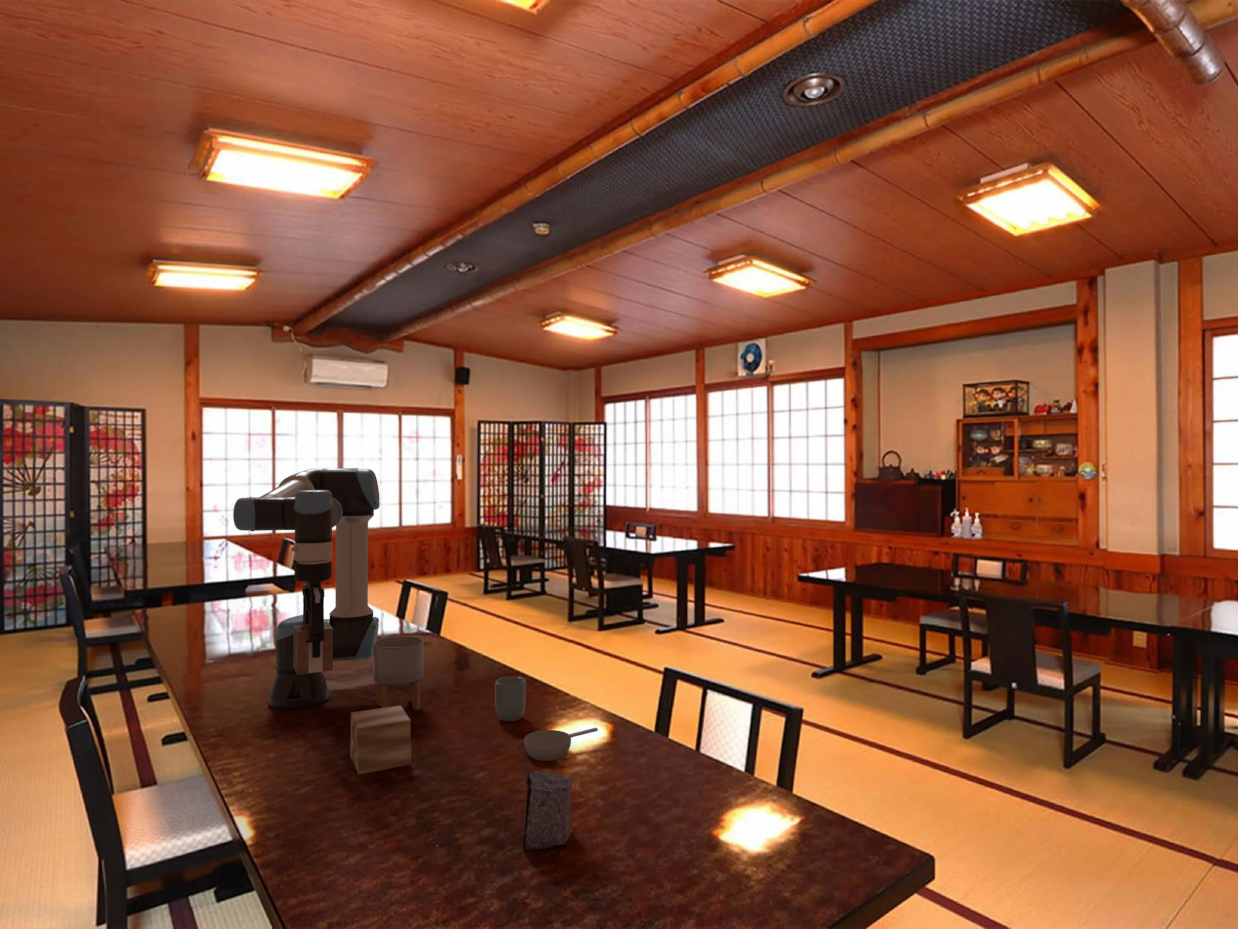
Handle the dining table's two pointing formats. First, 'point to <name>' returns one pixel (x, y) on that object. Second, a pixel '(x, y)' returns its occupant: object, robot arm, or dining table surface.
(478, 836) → the dining table surface
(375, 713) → the tower upper
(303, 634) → the walnut block
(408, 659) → the planter
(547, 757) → the saucepan
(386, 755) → the tower lower
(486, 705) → the dining table surface
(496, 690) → the cup
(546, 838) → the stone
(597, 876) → the dining table surface
